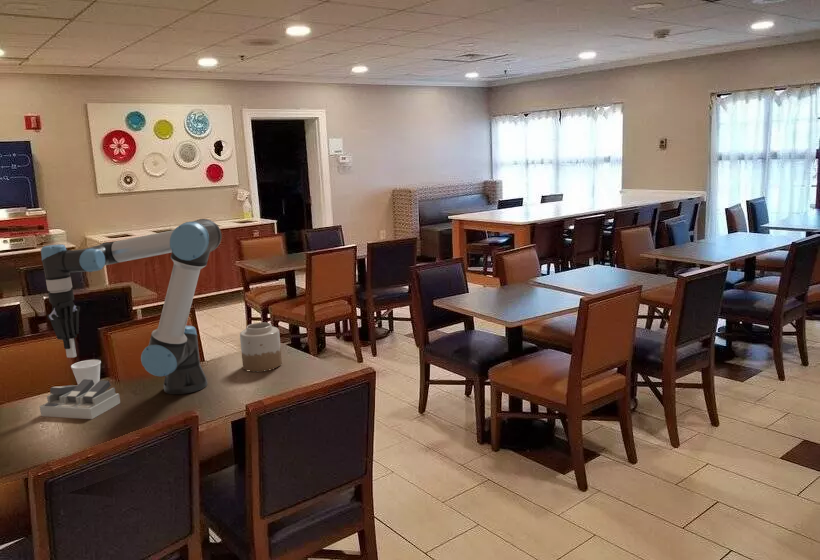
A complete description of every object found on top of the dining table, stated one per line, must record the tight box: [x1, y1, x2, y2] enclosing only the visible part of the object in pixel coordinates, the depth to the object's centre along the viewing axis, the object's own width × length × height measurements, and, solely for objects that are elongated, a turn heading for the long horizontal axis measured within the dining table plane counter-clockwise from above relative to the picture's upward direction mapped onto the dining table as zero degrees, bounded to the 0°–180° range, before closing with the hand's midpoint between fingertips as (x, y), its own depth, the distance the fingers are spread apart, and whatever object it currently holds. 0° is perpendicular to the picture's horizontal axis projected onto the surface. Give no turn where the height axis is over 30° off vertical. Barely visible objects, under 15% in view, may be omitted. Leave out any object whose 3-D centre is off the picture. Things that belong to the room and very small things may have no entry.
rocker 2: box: [67, 379, 94, 402], centre depth 220 cm, size 4×9×2 cm, turn 166°
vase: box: [239, 322, 283, 372], centre depth 256 cm, size 15×15×17 cm
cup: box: [70, 359, 102, 391], centre depth 235 cm, size 10×10×11 cm
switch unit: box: [39, 387, 121, 420], centre depth 219 cm, size 20×14×6 cm
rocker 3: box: [83, 380, 111, 402], centre depth 218 cm, size 4×9×2 cm, turn 166°
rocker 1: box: [49, 384, 78, 395], centre depth 221 cm, size 4×9×2 cm, turn 166°
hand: (71, 356), depth 223 cm, fingers closed
